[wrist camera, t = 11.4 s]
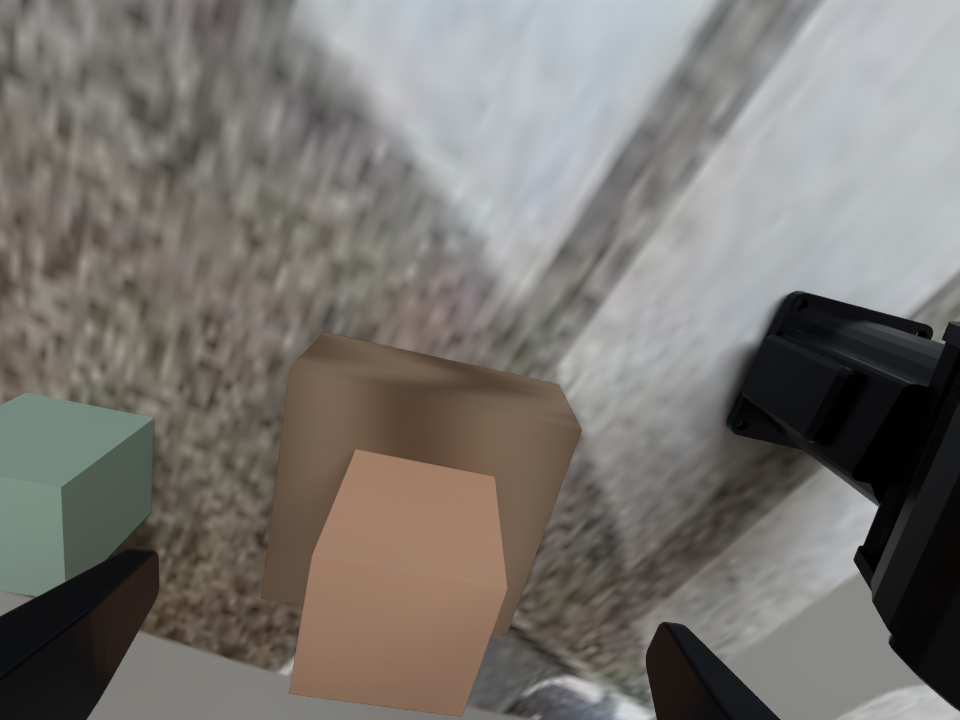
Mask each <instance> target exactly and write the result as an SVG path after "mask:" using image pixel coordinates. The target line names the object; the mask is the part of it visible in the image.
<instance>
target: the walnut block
mask: <svg viewBox="0 0 960 720" xmlns="http://www.w3.org/2000/svg"><path fill="white" fill-rule="evenodd" d="M581 431H582V429H581V427H580V425H579V423H578V421H577V419H576V417H575V415H574V413H573V411H572V409H571V407H570V405H569V403H568V401H567V399H566V397H565V395H564V393H563V391H562V389H561V387H560V385H558V384H554V383H549V382H545V381H540V380H536V379H531V378H527V377H522V376H518V375H514V374H509V373H505V372H500V371H496V370H491V369H487V368H482V367H478V366H473V365H469V364H465V363H460V362H456V361H451V360H447V359H442V358H438V357H433V356H429V355H424V354H420V353H415V352H411V351H407V350H402V349H398V348H393V347H389V346H384V345H380V344H375V343H371V342H366V341H362V340H358V339H353V338H349V337H344V336H340V335H335V334H331V333H326V332H324V333H323V334H322V335H321V336H320V337H319V338H318V339H317V340H316V341H315V342H314V343H313V344H312V345H311V346H310V347H309V348H308V349H307V351H306V352H305V353H304V354H303V355H302V356H301V357H300V358H299V359H298V360H297V361H296V362H295V363H294V364H293V365H292V366H291V367H290V371H289V379H288V387H287V395H286V403H285V411H284V419H283V427H282V435H281V443H280V451H279V459H278V468H277V476H276V484H275V492H274V500H273V508H272V516H271V524H270V532H269V540H268V548H267V556H266V564H265V572H264V580H263V588H262V596H261V599H266V600H273V601H279V602H286V603H292V604H299V605H304V601H305V595H306V589H307V583H308V577H309V571H310V565H311V559H312V555H313V552H314V550H315V547H316V545H317V543H318V540H319V538H320V535H321V533H322V530H323V528H324V525H325V523H326V521H327V518H328V516H329V513H330V511H331V508H332V506H333V503H334V501H335V499H336V496H337V494H338V491H339V489H340V486H341V484H342V482H343V479H344V477H345V474H346V472H347V469H348V467H349V464H350V462H351V460H352V457H353V455H354V452H355V450H356V449H357V450H362V451H367V452H372V453H377V454H382V455H387V456H392V457H397V458H402V459H407V460H412V461H417V462H422V463H427V464H432V465H438V466H443V467H448V468H453V469H458V470H463V471H468V472H473V473H478V474H483V475H488V476H493V477H495V484H496V493H497V502H498V510H499V519H500V528H501V537H502V545H503V554H504V563H505V572H506V580H507V591H506V594H505V597H504V600H503V603H502V606H501V608H500V611H499V614H498V617H497V620H496V622H495V625H494V628H493V631H492V634H493V635H499V636H505V637H506V635H507V632H508V630H509V627H510V624H511V622H512V619H513V616H514V613H515V611H516V608H517V605H518V602H519V600H520V597H521V594H522V592H523V589H524V586H525V583H526V581H527V578H528V575H529V572H530V570H531V567H532V564H533V562H534V559H535V556H536V553H537V551H538V548H539V545H540V543H541V540H542V537H543V534H544V532H545V529H546V526H547V523H548V521H549V518H550V515H551V513H552V510H553V507H554V504H555V502H556V499H557V496H558V493H559V491H560V488H561V485H562V483H563V480H564V477H565V474H566V472H567V469H568V466H569V463H570V461H571V458H572V455H573V453H574V450H575V447H576V444H577V442H578V439H579V436H580V433H581Z"/></svg>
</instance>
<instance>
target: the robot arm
mask: <svg viewBox="0 0 960 720" xmlns="http://www.w3.org/2000/svg"><path fill="white" fill-rule="evenodd" d="M800 300H802V304H801V305H800V307H799V308H797V309H796V304H797V303H798V301H800ZM917 333H918V334H917ZM916 334H917V336H916ZM932 336H933V330H932V328H931V327H930V326H928V325H926V324H922V323H919V322H915V321H911V320H908V319H904V318H900V317H896V316H893V315H889V314H885V313H881V312H878V311H874V310H870V309H866V308H863V307H859V306H855V305H851V304H848V303H844V302H840V301H836V300H833V299H829V298H825V297H821V296H818V295H814V294H810V293H806V292H803V291H795V292H792V293H791V294H789V295H788V296H787V297H786V299H785V300H784V302H783V305H782V307H781V309H780V311H779V313H778V315H777V317H776V319H775V321H774V323H773V325H772V327H771V330H770V332H769V334H768V336H767V338H766V339H765V341H764V343H763V345H762V347H761V349H760V352H759V354H758V356H757V358H756V360H755V362H754V364H753V366H752V368H751V370H750V372H749V374H748V377H747V379H746V381H745V383H744V385H743V387H742V389H741V392H740V394H739V396H738V398H737V400H736V402H735V404H734V407H733V409H732V411H731V413H730V415H729V417H728V419H727V426H728V428H729V429H730V430H731V431H732V432H733V433H735V434H737V435H740V436H744V437H749V438H753V439H758V440H762V441H767V442H771V443H776V444H780V445H785V446H790V447H794V448H799V449H803V450H804V451H806V452H807V453H808V454H810V455H811V456H812V457H814V458H815V459H816V460H818V461H819V462H820V463H821V464H823V465H824V466H825V467H827V468H828V469H829V470H831V471H832V472H833V473H835V474H836V475H837V476H839V477H840V478H841V479H843V480H844V481H845V482H846V483H848V484H849V485H850V486H852V487H853V488H854V489H856V490H857V491H858V492H860V493H861V494H862V495H864V496H865V497H866V498H868V499H869V500H870V501H871V502H873V503H874V504H875V505H877V506H878V507H879V508H878V510H877V513H876V515H875V517H874V520H873V522H872V525H871V527H870V530H869V532H868V535H867V537H866V540H865V542H864V545H863V546H859V547H858V549H857V552H856V554H855V557H854V559H853V560H854V562H855V564H856V566H857V567H858V569H859V571H860V573H861V574H862V576H863V578H864V579H865V581H866V583H867V584H868V586H869V588H870V590H871V591H872V602H873V604H874V605H875V607H876V609H877V611H878V613H879V614H880V616H881V618H882V620H883V622H884V623H885V625H886V627H887V629H888V630H889V631H890V633H891V635H890V637H889V645H890V646H891V648H892V649H893V650H894V652H895V653H896V654H897V655H898V656H899V657H900V658H901V659H902V660H903V661H904V662H905V663H906V665H907V666H908V667H909V668H910V669H911V670H912V671H913V672H914V673H915V674H916V675H917V676H918V677H919V678H920V679H921V680H922V681H923V682H924V683H925V684H926V685H928V686H929V687H930V688H931V689H932V690H933V691H935V692H936V693H937V694H938V695H939V696H941V697H942V698H943V699H944V700H945V701H946V702H948V703H949V704H950V705H951V706H953V707H954V708H955V709H957V710H958V711H960V322H954V321H951V322H949V323H948V326H947V328H946V331H945V333H944V336H943V338H942V340H944V341H946V343H945V345H944V344H941V343H938V342H935V341H932V340H931V338H932ZM742 420H743V423H742V424H741V425H739V426H737V425H738V423H739V422H740V421H742ZM158 591H159V557H158V554H157V552H156V551H154V550H149V549H141V548H128V549H126V550H124V551H122V552H120V553H118V554H116V555H114V556H112V557H110V558H109V559H107V560H105V561H103V562H101V563H99V564H97V565H95V566H94V567H92V568H90V569H88V570H86V571H84V572H82V573H80V574H79V575H77V576H75V577H73V578H71V579H69V580H67V581H65V582H64V583H62V584H60V585H58V586H56V587H54V588H52V589H50V590H49V591H47V592H45V593H43V594H41V595H39V596H37V597H35V598H34V599H32V600H30V601H28V602H26V603H25V604H23V605H21V606H19V607H17V608H15V609H13V610H11V611H9V612H7V613H6V614H4V615H2V616H0V720H86V719H87V718H88V717H89V715H90V714H91V712H92V710H93V709H94V707H95V706H96V704H97V703H98V701H99V700H100V698H101V696H102V694H103V693H104V691H105V689H106V688H107V686H108V684H109V682H110V681H111V679H112V677H113V675H114V674H115V672H116V670H117V668H118V666H119V665H120V663H121V661H122V659H123V657H124V656H125V654H126V652H127V650H128V649H129V647H130V645H131V643H132V642H133V640H134V638H135V636H136V634H137V633H138V631H139V629H140V627H141V626H142V624H143V622H144V620H145V618H146V617H147V615H148V613H149V611H150V609H151V608H152V606H153V604H154V602H155V600H156V598H157V595H158ZM646 668H647V673H648V678H649V683H650V688H651V693H652V697H653V702H654V707H655V712H656V717H657V720H780V719H779V718H778V717H777V716H776V715H775V714H774V713H773V712H772V711H771V710H770V709H769V708H768V707H767V706H766V705H765V704H764V703H763V702H762V701H761V700H760V699H759V698H758V697H757V696H756V695H755V694H754V693H753V692H752V691H751V690H750V689H749V688H748V687H747V686H746V685H745V684H744V683H743V682H742V681H741V680H740V679H739V678H738V677H737V676H736V675H735V674H734V673H733V672H732V671H731V670H730V669H729V668H728V667H727V666H726V665H725V664H724V663H723V662H722V661H721V660H720V659H719V658H718V657H717V656H716V655H715V654H714V653H713V652H712V651H711V650H710V649H709V648H708V647H707V646H706V645H704V644H703V643H702V642H701V641H700V640H699V639H698V638H697V637H696V636H695V635H694V634H693V633H692V632H691V631H690V630H689V629H688V628H687V627H686V626H684V625H682V624H678V623H671V622H662V623H661V624H660V625H659V626H658V628H657V631H656V633H655V635H654V637H653V639H652V641H651V644H650V646H649V648H648V650H647V654H646Z"/></svg>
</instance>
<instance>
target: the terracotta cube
mask: <svg viewBox="0 0 960 720" xmlns="http://www.w3.org/2000/svg"><path fill="white" fill-rule="evenodd" d="M506 591H507V580H506V572H505V563H504V554H503V545H502V537H501V528H500V519H499V510H498V502H497V493H496V484H495V477H493V476H488V475H483V474H478V473H473V472H468V471H463V470H458V469H453V468H448V467H443V466H438V465H432V464H427V463H422V462H417V461H412V460H407V459H402V458H397V457H392V456H387V455H382V454H377V453H372V452H367V451H362V450H357V449H356V450H355V452H354V455H353V457H352V460H351V462H350V464H349V467H348V469H347V472H346V474H345V477H344V479H343V482H342V484H341V486H340V489H339V491H338V494H337V496H336V499H335V501H334V503H333V506H332V508H331V511H330V513H329V516H328V518H327V521H326V523H325V525H324V528H323V530H322V533H321V535H320V538H319V540H318V543H317V545H316V547H315V550H314V552H313V555H312V559H311V565H310V571H309V577H308V583H307V589H306V595H305V601H304V607H303V613H302V618H301V624H300V630H299V636H298V642H297V648H296V654H295V660H294V666H293V672H292V678H291V684H290V690H289V694H293V695H301V696H308V697H316V698H323V699H331V700H339V701H346V702H353V703H361V704H368V705H376V706H383V707H391V708H398V709H406V710H413V711H421V712H428V713H436V714H443V715H451V716H458V717H462V715H463V713H464V710H465V707H466V704H467V701H468V698H469V696H470V693H471V690H472V687H473V684H474V682H475V679H476V676H477V673H478V670H479V668H480V665H481V662H482V659H483V656H484V653H485V651H486V648H487V645H488V642H489V639H490V637H491V634H492V631H493V628H494V625H495V622H496V620H497V617H498V614H499V611H500V608H501V606H502V603H503V600H504V597H505V594H506Z"/></svg>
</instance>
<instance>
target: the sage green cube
mask: <svg viewBox="0 0 960 720" xmlns="http://www.w3.org/2000/svg"><path fill="white" fill-rule="evenodd" d="M153 435H154V418H151V417H146V416H141V415H136V414H131V413H126V412H121V411H116V410H112V409H107V408H102V407H97V406H92V405H87V404H82V403H77V402H72V401H67V400H62V399H57V398H52V397H47V396H42V395H37V394H32V393H25V394H23V395H21V396H18V397H16V398H14V399H12V400H10V401H8V402H6V403H3V404H1V405H0V591H5V592H11V593H18V594H24V595H31V596H39V595H41V594H43V593H45V592H47V591H49V590H50V589H52V588H54V587H56V586H58V585H60V584H62V583H64V582H65V581H67V580H69V579H71V578H73V577H75V576H77V575H79V574H80V573H82V572H84V571H86V570H88V569H90V568H92V567H94V566H95V565H97V564H99V563H101V562H103V561H105V560H106V559H107V558H108V557H109V556H110V555H111V554H112V552H113V551H114V550H115V549H116V548H117V547H118V546H119V545H120V544H121V543H122V542H123V541H124V540H125V539H126V538H127V537H128V536H129V535H130V534H131V533H132V532H133V531H134V530H135V529H136V527H137V526H138V525H139V524H140V523H141V522H142V521H143V520H144V519H145V518H146V517H147V516H148V515H149V514H150V513H151V497H152V466H153Z"/></svg>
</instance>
